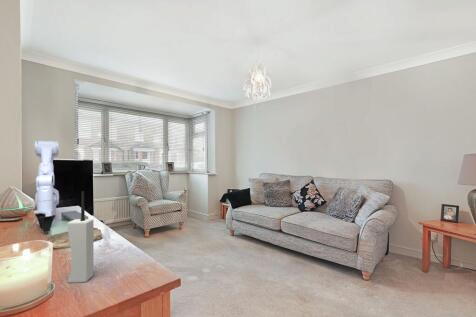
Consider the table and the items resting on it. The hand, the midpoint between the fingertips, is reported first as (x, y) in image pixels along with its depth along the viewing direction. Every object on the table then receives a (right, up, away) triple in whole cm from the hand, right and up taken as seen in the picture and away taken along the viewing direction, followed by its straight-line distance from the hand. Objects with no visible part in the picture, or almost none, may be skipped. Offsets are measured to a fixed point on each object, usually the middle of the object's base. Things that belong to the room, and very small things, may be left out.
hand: (45, 229), depth 107 cm
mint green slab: (+5, -2, +5) cm, 7 cm away
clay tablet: (+21, -2, -11) cm, 24 cm away
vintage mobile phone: (+45, -2, -41) cm, 61 cm away
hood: (+7, -2, +9) cm, 12 cm away
